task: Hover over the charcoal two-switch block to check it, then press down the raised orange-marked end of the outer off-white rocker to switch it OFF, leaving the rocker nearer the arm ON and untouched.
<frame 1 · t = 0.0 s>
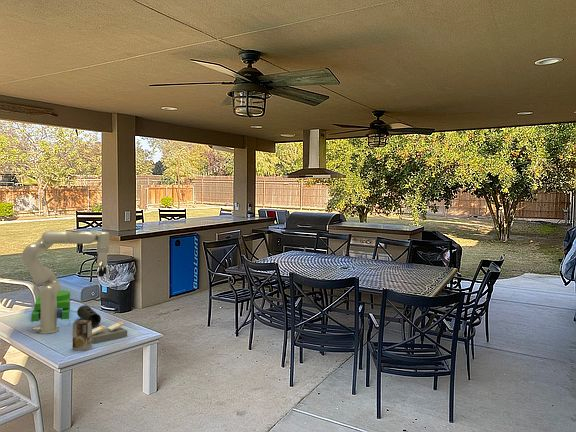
hand: (102, 275, 293), 37 cm above the table, tool pointing down, fingers open, 9 cm apart
coffee box: (82, 348, 258), on the table
switch block: (106, 337, 279), on the table
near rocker: (97, 329, 274), point 6 cm above the table, hinge at -15.0°
tank: (51, 316, 322), on the table
far rocker: (115, 326, 283), point 6 cm above the table, hinge at -15.0°
muzzle brake: (88, 323, 308), on the table
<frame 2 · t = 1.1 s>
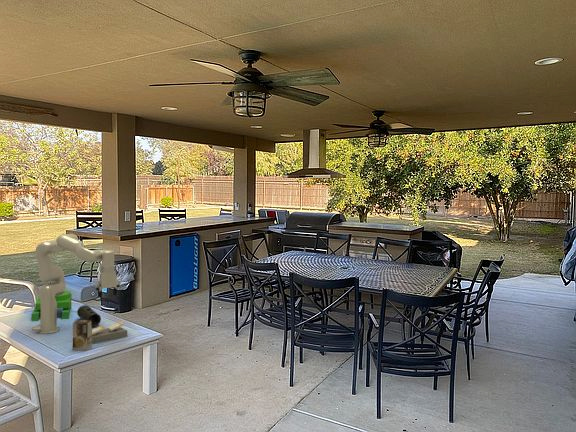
hand: (107, 296, 278), 27 cm above the table, tool pointing down, fingers open, 9 cm apart
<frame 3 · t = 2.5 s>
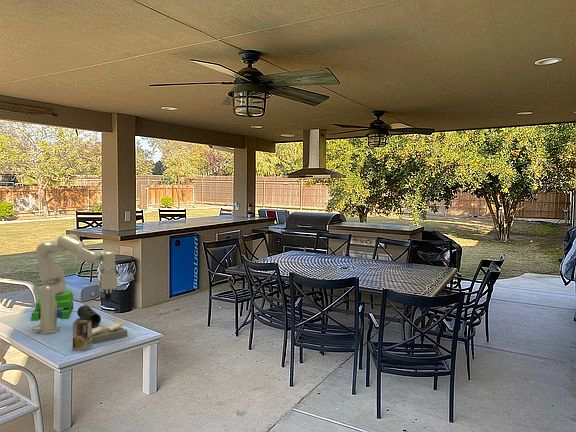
hand: (107, 299, 278), 25 cm above the table, tool pointing down, fingers closed
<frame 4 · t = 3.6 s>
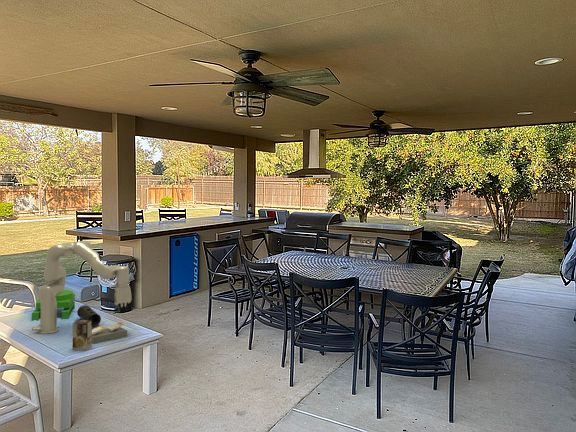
hand: (122, 312, 285), 15 cm above the table, tool pointing down, fingers closed
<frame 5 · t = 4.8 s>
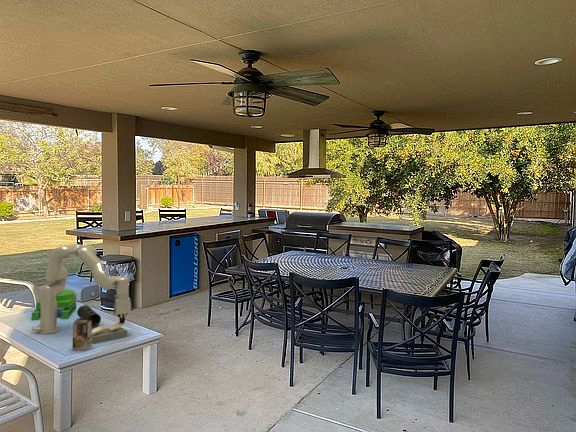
hand: (122, 323, 286), 7 cm above the table, tool pointing down, fingers closed
far rocker: (115, 326, 283), point 6 cm above the table, hinge at -13.8°, touching gripper
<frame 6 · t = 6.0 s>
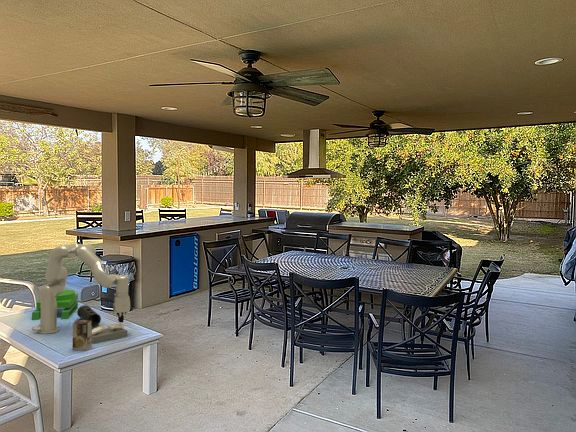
hand: (120, 321, 286), 8 cm above the table, tool pointing down, fingers closed
far rocker: (115, 326, 283), point 6 cm above the table, hinge at 6.0°
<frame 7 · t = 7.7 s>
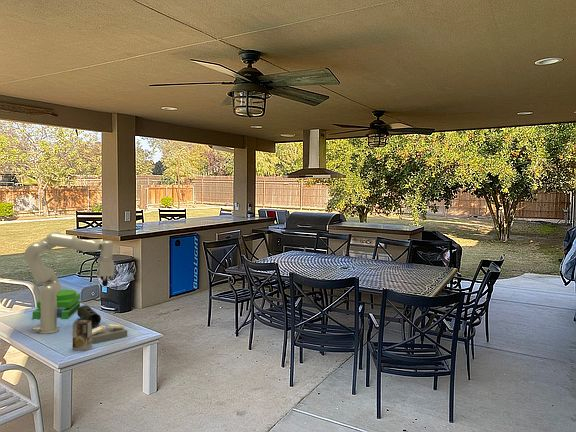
hand: (104, 285, 293), 30 cm above the table, tool pointing down, fingers closed
far rocker: (115, 326, 283), point 6 cm above the table, hinge at 12.3°
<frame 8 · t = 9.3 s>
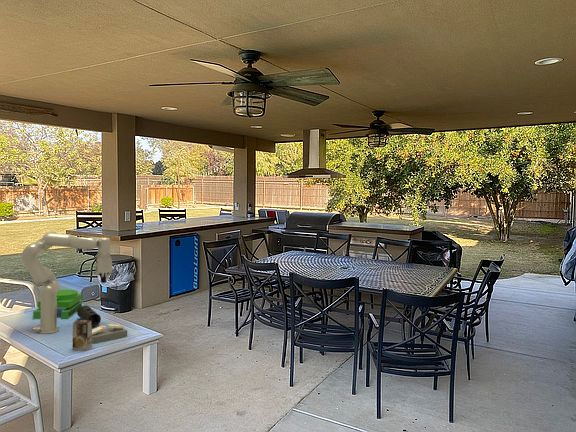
hand: (103, 282, 294), 32 cm above the table, tool pointing down, fingers closed
far rocker: (115, 326, 283), point 6 cm above the table, hinge at 13.6°
at the end: far rocker at +14° (first picture: -15°); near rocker at -15° (first picture: -15°) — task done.
